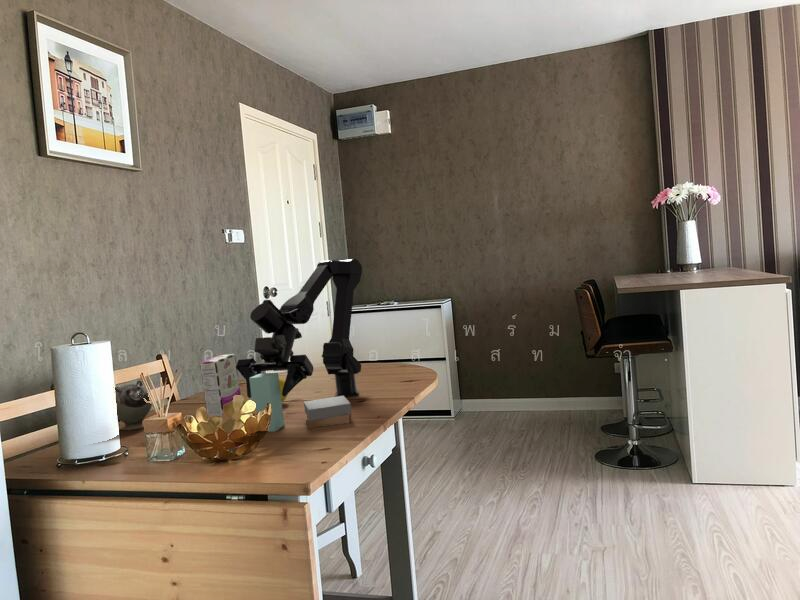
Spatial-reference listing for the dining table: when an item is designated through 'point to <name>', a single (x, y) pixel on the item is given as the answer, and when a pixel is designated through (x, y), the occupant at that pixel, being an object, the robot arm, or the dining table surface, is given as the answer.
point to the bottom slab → (327, 421)
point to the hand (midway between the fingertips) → (265, 396)
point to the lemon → (281, 383)
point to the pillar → (268, 397)
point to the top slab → (327, 407)
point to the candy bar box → (219, 382)
